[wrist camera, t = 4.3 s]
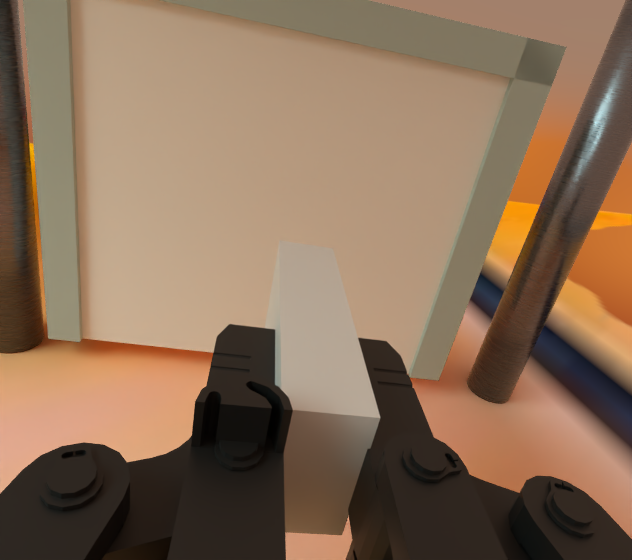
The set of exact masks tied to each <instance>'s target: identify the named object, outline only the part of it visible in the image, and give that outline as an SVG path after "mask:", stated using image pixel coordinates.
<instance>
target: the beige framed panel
mask: <svg viewBox="0 0 632 560" xmlns="http://www.w3.org/2000/svg"><path fill="white" fill-rule="evenodd" d="M23 7H24V20H25V32H26V33H25V34H26V46H27V60H28V73H29V87H30V100H31V114H32V127H33V141H34V154H35V168H36V181H37V194H38V208H39V221H40V234H41V248H42V261H43V275H44V288H45V301H46V315H47V328H48V339H57V340H66V341H75V342H81V340H82V339H92V340H102V341H111V342H120V343H129V344H138V345H148V346H157V347H166V348H175V349H184V350H193V351H203V352H212V353H214V348H215V343H216V338H217V336H218V335H219V334H220V333H221V332H222V331H223V330H224V329H225V328H226V327H227V326H228V325H229V324H234V325H243V326H251V327H259V328H265V323H266V317H267V311H268V305H269V299H270V293H271V287H272V281H273V275H274V269H275V263H276V257H277V251H278V245H279V240H280V241H287V242H293V243H300V244H307V245H314V246H320V247H327V248H333V251H334V254H335V258H336V261H337V265H338V268H339V272H340V276H341V279H342V283H343V286H344V290H345V293H346V297H347V301H348V304H349V308H350V311H351V315H352V318H353V322H354V326H355V329H356V333H357V336H358V338H365V339H373V340H382V341H387V342H388V343H389V344H390V345H391V346H392V347H393V348H394V349H395V350H396V351H397V352H398V353H399V354H400V355H401V358H402V360H403V363H404V365H405V368H406V370H407V374H409V377H410V378H419V379H428V380H438V381H439V378H440V376H441V373H442V370H443V368H444V365H445V363H446V360H447V357H448V355H449V352H450V350H451V347H452V344H453V342H454V339H455V337H456V334H457V331H458V329H459V326H460V324H461V321H462V318H463V316H464V313H465V310H466V308H467V305H468V303H469V300H470V297H471V295H472V292H473V290H474V287H475V284H476V282H477V279H478V277H479V274H480V271H481V269H482V266H483V264H484V261H485V258H486V256H487V253H488V250H489V248H490V245H491V243H492V240H493V237H494V235H495V232H496V230H497V227H498V224H499V222H500V219H501V217H502V214H503V211H504V209H505V206H506V204H507V201H508V198H509V196H510V193H511V190H512V188H513V185H514V183H515V180H516V177H517V175H518V172H519V169H520V167H521V164H522V162H523V159H524V156H525V154H526V151H527V149H528V146H529V144H530V141H531V138H532V136H533V133H534V130H535V128H536V125H537V122H538V120H539V117H540V115H541V112H542V110H543V107H544V104H545V102H546V99H547V96H548V94H549V91H550V89H551V86H552V83H553V81H554V78H555V76H556V73H557V70H558V68H559V65H560V63H561V60H562V57H563V55H564V52H565V49H566V47H564V46H560V45H556V44H551V43H547V42H543V41H539V40H534V39H530V38H526V37H521V36H518V35H513V34H509V33H505V32H501V31H496V30H492V29H488V28H483V27H479V26H475V25H471V24H467V23H462V22H458V21H454V20H450V19H445V18H441V17H437V16H433V15H428V14H424V13H420V12H416V11H411V10H407V9H403V8H399V7H394V6H390V5H386V4H382V3H378V2H373V1H369V0H23Z"/></svg>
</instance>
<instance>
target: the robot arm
mask: <svg viewBox="0 0 632 560" xmlns="http://www.w3.org/2000/svg"><path fill="white" fill-rule="evenodd" d="M348 515H349V520H350V526H351V533H352V539H353V540H352V543H351V546H350V549H349V552H348V555H347V557H346V560H632V539H631V538H630V537H629V536H628V535H627V534H626V533H625V532H624V530H623V529H622V528H621V527H620V526H619V525H618V524H617V523H616V522H615V521H614V520H613V519H612V518H611V517H610V515H609V514H608V513H607V512H606V511H605V510H604V509H603V508H602V507H601V506H600V505H599V504H598V503H597V502H595V501H594V500H593V499H592V498H591V497H590V496H589V495H588V494H586V493H585V492H584V491H582V490H580V489H579V488H577V487H575V486H573V485H572V484H570V483H568V482H566V481H563V480H560V479H557V478H554V477H551V476H535V477H533V478H531V479H529V480H527V481H526V482H525V484H524V486H523V488H522V490H521V491H520V493H517V492H515V491H512V490H509V489H506V488H503V487H500V486H497V485H494V484H492V483H489V482H486V481H483V480H481V479H478V478H476V477H474V476H471V475H469V472H468V470H467V468H466V466H465V465H464V463H463V462H462V460H461V459H460V457H459V456H458V454H457V453H455V452H454V451H453V450H452V449H451V448H450V447H448V446H447V445H446V444H445V443H443V442H441V441H439V440H437V439H435V438H434V437H433V435H432V432H431V430H430V427H429V425H428V422H427V420H426V417H425V415H424V412H423V410H422V407H421V405H420V402H419V400H418V397H417V395H416V392H415V390H414V388H412V382H411V380H410V377H409V375H407V370H406V368H405V365H404V363H403V360H402V358H401V355H400V354H399V353H398V352H397V351H396V350H395V349H394V348H393V347H392V346H391V345H390V344H389V343H388V342H387V341H382V340H373V339H365V338H358V336H357V333H356V329H355V326H354V322H353V318H352V315H351V311H350V308H349V304H348V301H347V297H346V293H345V290H344V286H343V283H342V279H341V276H340V272H339V268H338V265H337V261H336V258H335V254H334V251H333V248H327V247H320V246H314V245H307V244H300V243H293V242H287V241H280V240H279V245H278V251H277V257H276V263H275V269H274V275H273V281H272V287H271V293H270V299H269V305H268V311H267V317H266V323H265V328H259V327H251V326H243V325H234V324H229V325H228V326H227V327H226V328H225V329H224V330H223V331H222V332H221V333H220V334H219V335H218V336H217V338H216V343H215V348H214V353H213V357H212V362H211V368H210V372H209V377H208V382H207V386H206V387H204V388H203V389H202V390H201V392H200V394H199V396H198V397H197V399H196V401H195V410H194V421H193V431H192V436H191V437H190V439H189V440H188V441H186V442H185V443H184V444H182V445H181V446H180V447H179V448H177V449H175V450H173V451H171V452H169V453H167V454H164V455H160V456H156V457H153V458H148V459H143V460H138V461H133V462H126V461H125V459H124V458H123V457H122V456H121V454H120V453H119V452H117V451H115V450H113V449H111V448H109V447H107V446H105V445H101V444H92V443H79V444H73V445H67V446H62V447H59V448H57V449H55V450H52V451H50V452H48V453H45V454H43V455H41V456H40V457H38V458H37V459H36V460H35V461H33V462H32V463H31V464H30V465H28V466H27V467H26V468H24V469H23V470H22V471H21V472H20V473H19V474H18V475H17V477H16V478H15V479H14V480H13V481H12V482H11V483H10V484H9V485H8V486H7V487H6V488H5V489H4V490H3V491H2V493H1V494H0V560H286V549H285V532H291V533H310V534H329V535H342V533H343V530H344V527H345V524H346V521H347V518H348Z"/></svg>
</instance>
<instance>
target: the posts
mask: <svg viewBox="0 0 632 560" xmlns="http://www.w3.org/2000/svg"><path fill="white" fill-rule="evenodd" d="M631 142H632V0H626V1H625V3H624V5H623V8H622V10H621V13H620V15H619V17H618V20H617V22H616V25H615V27H614V29H613V32H612V34H611V37H610V39H609V42H608V44H607V46H606V49H605V51H604V53H603V56H602V59H601V61H600V63H599V65H598V68H597V70H596V73H595V75H594V77H593V80H592V82H591V84H590V87H589V89H588V92H587V94H586V97H585V99H584V102H583V104H582V106H581V109H580V111H579V113H578V116H577V118H576V120H575V123H574V125H573V128H572V130H571V132H570V135H569V137H568V140H567V142H566V145H565V147H564V149H563V152H562V154H561V156H560V159H559V161H558V164H557V166H556V168H555V171H554V173H553V176H552V178H551V181H550V183H549V185H548V188H547V190H546V192H545V195H544V197H543V200H542V202H541V204H540V207H539V209H538V212H537V214H536V216H535V219H534V221H533V224H532V226H531V228H530V231H529V233H528V236H527V238H526V240H525V243H524V245H523V248H522V250H521V252H520V255H519V257H518V260H517V262H516V264H515V267H514V269H513V272H512V274H511V276H510V279H509V281H508V284H507V286H506V288H505V291H504V293H503V296H502V298H501V300H500V303H499V305H498V308H497V310H496V312H495V315H494V317H493V320H492V322H491V324H490V327H489V329H488V332H487V334H486V336H485V339H484V341H483V344H482V346H481V348H480V351H479V353H478V356H477V358H476V360H475V363H474V365H473V368H472V370H471V372H470V375H469V377H468V380H467V384H468V386H469V388H470V389H471V390H472V391H473V392H474V393H475V394H476V395H478V396H479V397H481V398H483V399H485V400H487V401H490V402H494V403H505V402H507V401H508V400H509V398H510V396H511V394H512V392H513V390H514V388H515V386H516V383H517V381H518V379H519V377H520V375H521V373H522V371H523V369H524V367H525V365H526V362H527V360H528V358H529V356H530V354H531V352H532V350H533V348H534V346H535V344H536V341H537V339H538V337H539V335H540V333H541V331H542V329H543V327H544V325H545V323H546V321H547V318H548V316H549V314H550V312H551V310H552V308H553V306H554V304H555V302H556V300H557V297H558V295H559V293H560V291H561V289H562V287H563V285H564V283H565V281H566V279H567V276H568V274H569V272H570V270H571V268H572V266H573V264H574V262H575V260H576V258H577V256H578V253H579V251H580V249H581V247H582V245H583V243H584V241H585V239H586V237H587V235H588V232H589V230H590V228H591V226H592V224H593V222H594V220H595V218H596V216H597V214H598V211H599V209H600V207H601V205H602V203H603V201H604V199H605V197H606V194H607V193H608V190H609V188H610V186H611V184H612V182H613V180H614V178H615V176H616V174H617V172H618V170H619V167H620V165H621V163H622V161H623V159H624V157H625V155H626V153H627V151H628V149H629V146H630V144H631ZM43 339H44V326H43V314H42V301H41V288H40V276H39V263H38V250H37V238H36V225H35V212H34V200H33V187H32V174H31V162H30V149H29V136H28V124H27V111H26V99H25V86H24V74H23V60H22V48H21V35H20V22H19V10H18V0H0V352H1V353H15V352H21V351H25V350H28V349H31V348H33V347H35V346H37V345H38V344H39V343H41V342H42V340H43Z"/></svg>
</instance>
